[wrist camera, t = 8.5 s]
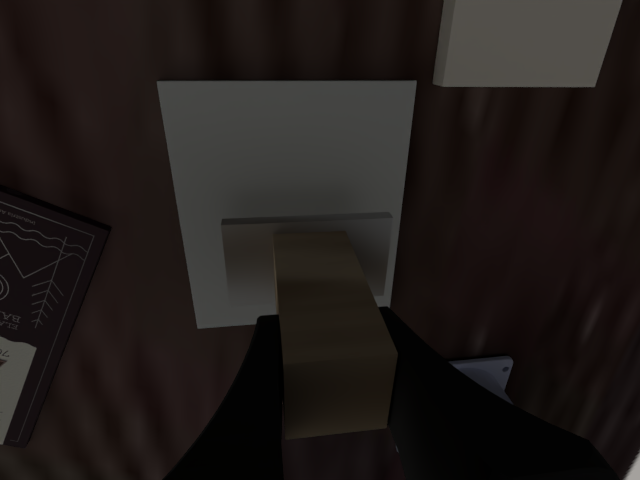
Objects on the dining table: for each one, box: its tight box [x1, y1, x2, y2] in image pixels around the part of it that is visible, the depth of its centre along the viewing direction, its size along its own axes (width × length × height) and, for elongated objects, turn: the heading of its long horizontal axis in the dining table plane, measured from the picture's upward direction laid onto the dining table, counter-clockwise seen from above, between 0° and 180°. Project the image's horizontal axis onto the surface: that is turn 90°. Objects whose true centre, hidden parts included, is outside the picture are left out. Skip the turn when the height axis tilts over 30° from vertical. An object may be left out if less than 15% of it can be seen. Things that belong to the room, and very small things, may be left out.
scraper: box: [221, 212, 398, 440], centre depth 14 cm, size 4×7×8 cm, turn 89°
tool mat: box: [157, 80, 417, 329], centre depth 22 cm, size 14×12×1 cm
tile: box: [432, 0, 622, 87], centre depth 18 cm, size 2×8×7 cm
